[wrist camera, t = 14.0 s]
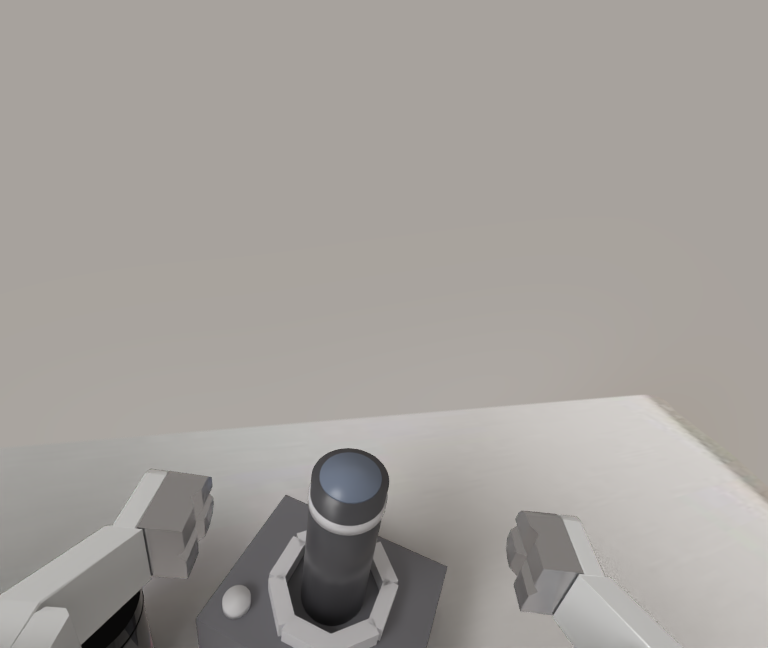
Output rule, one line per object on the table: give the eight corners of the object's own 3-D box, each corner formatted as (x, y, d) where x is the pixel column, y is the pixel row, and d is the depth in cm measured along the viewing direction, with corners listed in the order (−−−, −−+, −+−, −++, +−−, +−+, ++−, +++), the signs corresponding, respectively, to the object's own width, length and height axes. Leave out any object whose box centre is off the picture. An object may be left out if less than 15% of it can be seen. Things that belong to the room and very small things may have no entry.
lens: (286, 607, 33) (294, 489, 27) (319, 549, 37) (333, 436, 31) (348, 640, 32) (372, 524, 25) (375, 576, 36) (401, 463, 30)
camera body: (200, 659, 34) (194, 607, 31) (283, 534, 44) (286, 484, 41) (389, 769, 31) (407, 724, 27) (433, 604, 41) (451, 556, 37)
